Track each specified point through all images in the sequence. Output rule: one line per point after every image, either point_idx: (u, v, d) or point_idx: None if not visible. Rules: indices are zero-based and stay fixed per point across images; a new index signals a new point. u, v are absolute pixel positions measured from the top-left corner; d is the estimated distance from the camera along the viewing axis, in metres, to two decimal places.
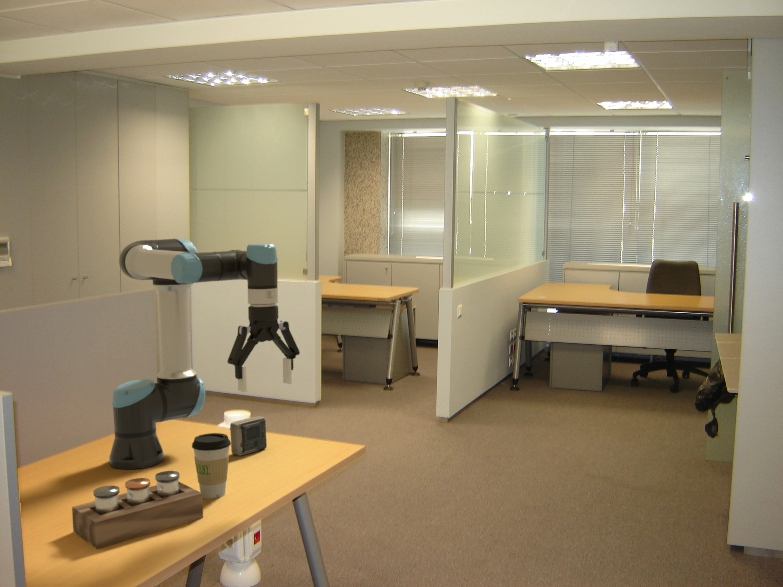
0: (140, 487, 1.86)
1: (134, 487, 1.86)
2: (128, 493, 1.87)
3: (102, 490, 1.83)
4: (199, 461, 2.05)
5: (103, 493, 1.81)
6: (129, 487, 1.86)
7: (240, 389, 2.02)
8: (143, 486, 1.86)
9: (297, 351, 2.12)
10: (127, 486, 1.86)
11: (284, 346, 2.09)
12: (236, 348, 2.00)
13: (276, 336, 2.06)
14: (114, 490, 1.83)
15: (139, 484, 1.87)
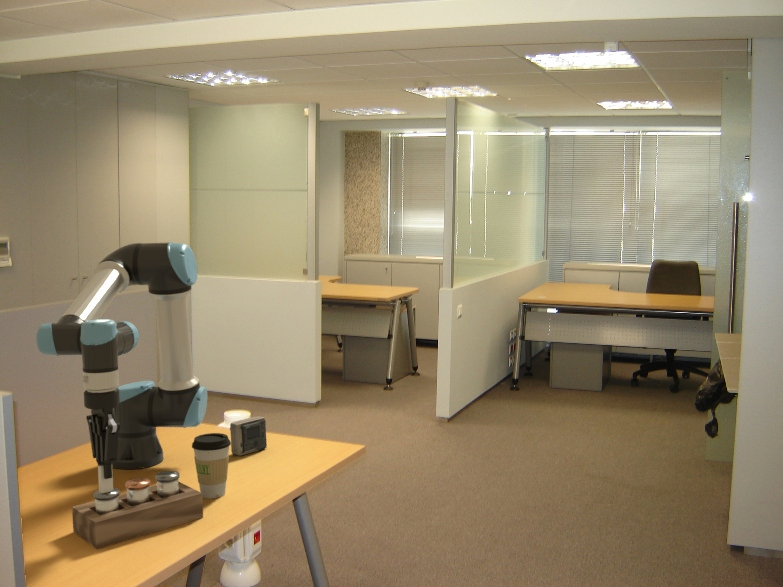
0: (140, 487, 1.86)
1: (134, 487, 1.86)
2: (128, 493, 1.87)
3: None
4: (199, 461, 2.05)
5: (103, 495, 1.81)
6: (129, 487, 1.86)
7: None
8: (143, 486, 1.86)
9: (105, 460, 1.79)
10: (127, 486, 1.86)
11: (101, 446, 1.80)
12: None
13: (97, 429, 1.80)
14: (114, 492, 1.83)
15: (139, 484, 1.87)
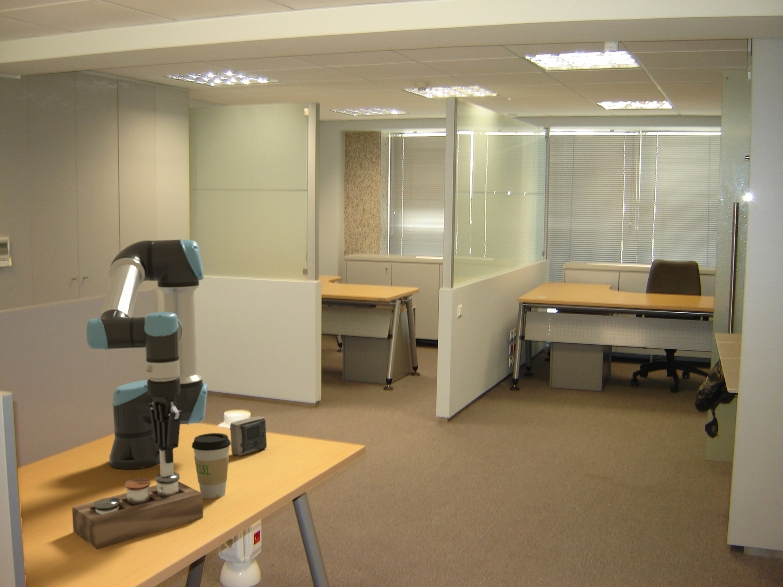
0: (140, 487, 1.86)
1: (134, 487, 1.86)
2: (128, 493, 1.87)
3: (103, 502, 1.83)
4: (199, 461, 2.05)
5: (104, 505, 1.81)
6: (129, 487, 1.86)
7: None
8: (143, 486, 1.86)
9: (167, 445, 1.89)
10: (127, 486, 1.86)
11: (163, 432, 1.91)
12: None
13: (160, 416, 1.90)
14: (115, 502, 1.83)
15: (139, 484, 1.87)
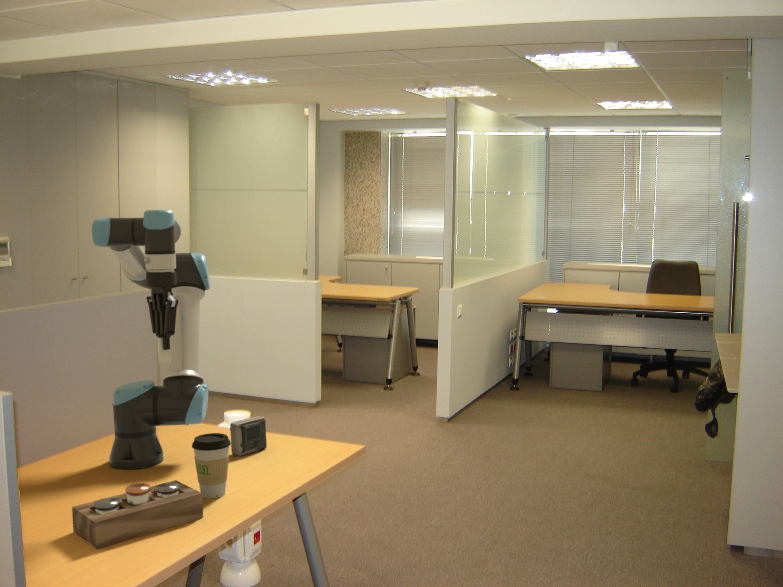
0: (140, 492, 1.86)
1: (134, 492, 1.86)
2: (128, 498, 1.87)
3: (103, 502, 1.83)
4: (199, 461, 2.05)
5: (104, 505, 1.81)
6: (129, 492, 1.86)
7: None
8: (143, 491, 1.87)
9: (164, 332, 2.04)
10: (127, 491, 1.86)
11: (160, 320, 2.06)
12: None
13: (158, 305, 2.05)
14: (115, 502, 1.83)
15: (139, 489, 1.87)
